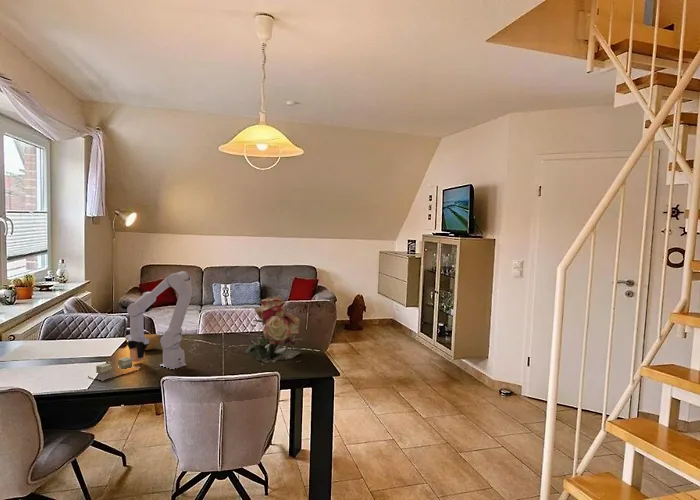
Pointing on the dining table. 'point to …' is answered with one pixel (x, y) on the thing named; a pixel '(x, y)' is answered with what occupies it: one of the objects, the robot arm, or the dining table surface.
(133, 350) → the terracotta block
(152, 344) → the potato
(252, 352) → the rose bouquet
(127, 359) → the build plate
